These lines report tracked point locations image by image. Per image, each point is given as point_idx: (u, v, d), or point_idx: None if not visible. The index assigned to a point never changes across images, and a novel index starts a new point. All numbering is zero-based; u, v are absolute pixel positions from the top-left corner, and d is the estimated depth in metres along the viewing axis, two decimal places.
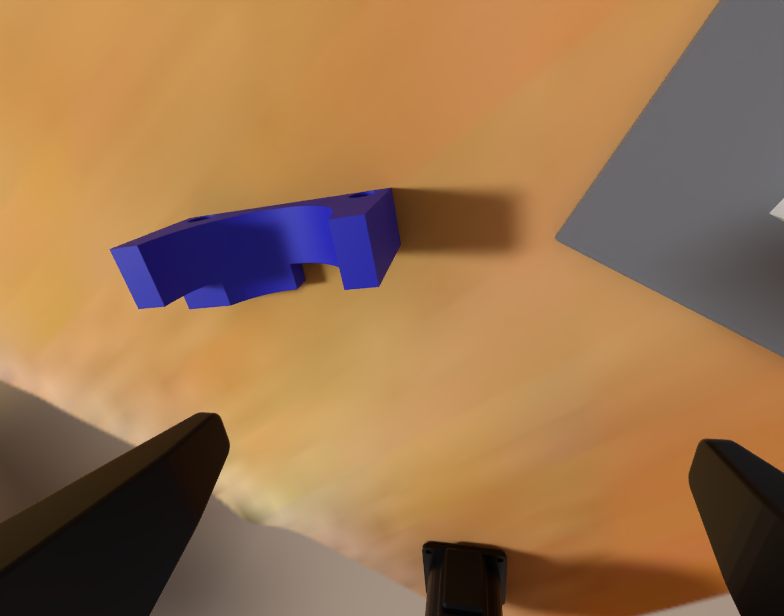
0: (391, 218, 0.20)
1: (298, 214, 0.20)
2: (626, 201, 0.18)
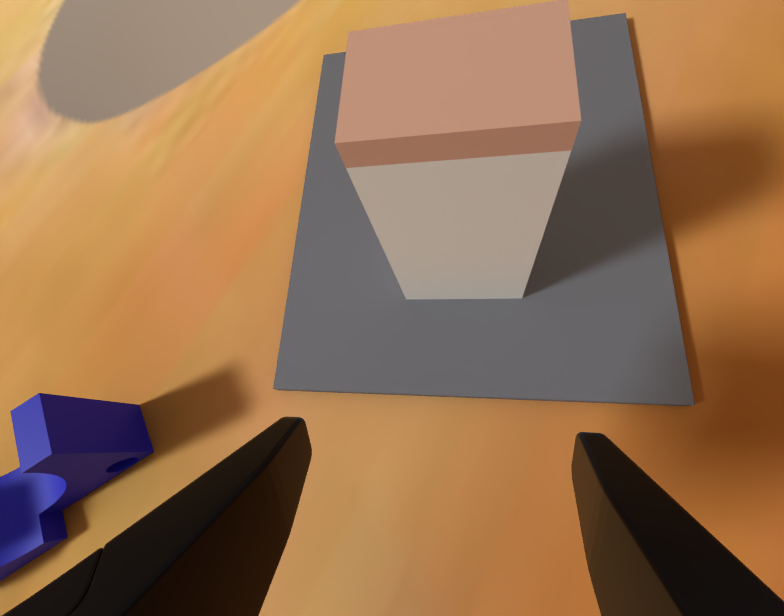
0: (128, 423, 0.22)
1: None
2: (307, 336, 0.22)
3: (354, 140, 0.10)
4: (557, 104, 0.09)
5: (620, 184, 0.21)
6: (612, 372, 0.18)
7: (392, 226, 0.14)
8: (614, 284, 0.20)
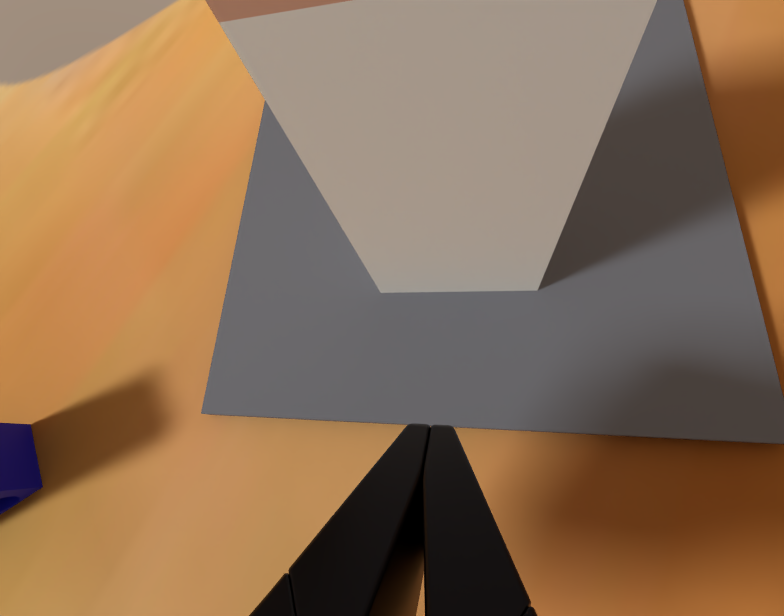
0: (3, 450, 0.16)
1: None
2: (249, 343, 0.16)
3: None
4: None
5: (668, 137, 0.16)
6: (669, 394, 0.13)
7: (338, 167, 0.09)
8: (666, 270, 0.14)
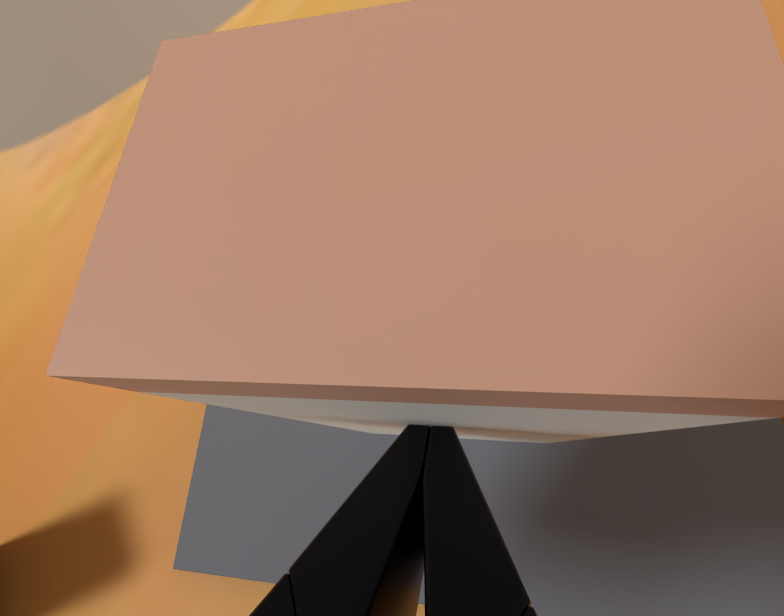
0: None
1: None
2: (228, 484, 0.15)
3: (103, 369, 0.03)
4: (778, 313, 0.03)
5: None
6: (696, 587, 0.11)
7: (312, 417, 0.07)
8: (689, 428, 0.13)
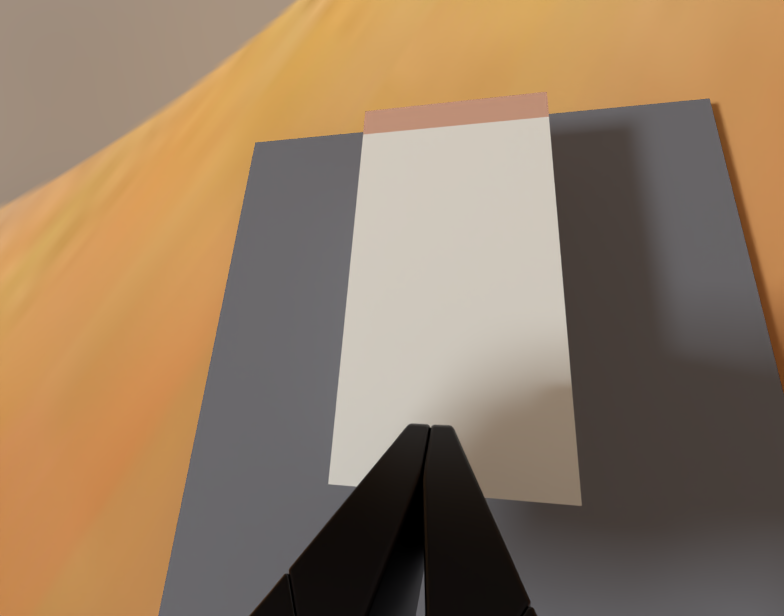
0: None
1: None
2: None
3: (380, 112, 0.14)
4: None
5: (726, 419, 0.12)
6: None
7: (377, 218, 0.12)
8: None
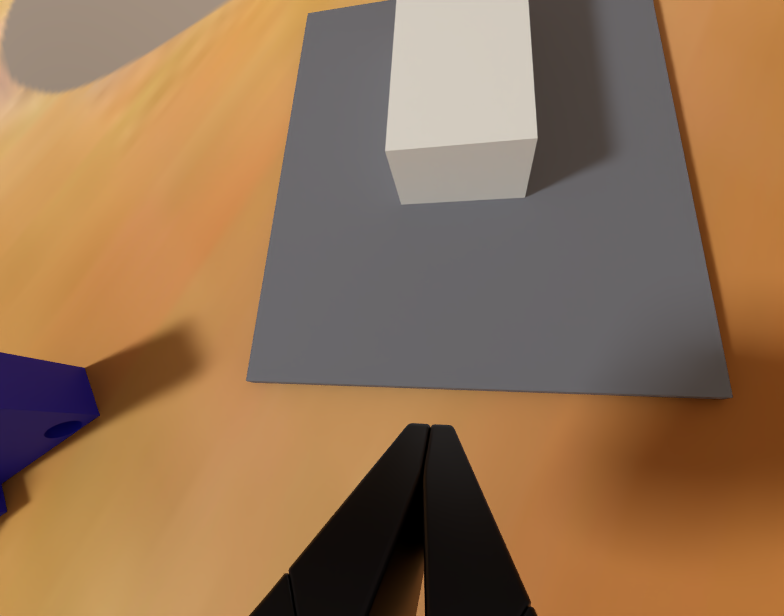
0: (68, 384, 0.20)
1: None
2: (285, 322, 0.19)
3: None
4: None
5: (641, 147, 0.19)
6: (635, 360, 0.16)
7: (410, 14, 0.19)
8: (635, 259, 0.17)
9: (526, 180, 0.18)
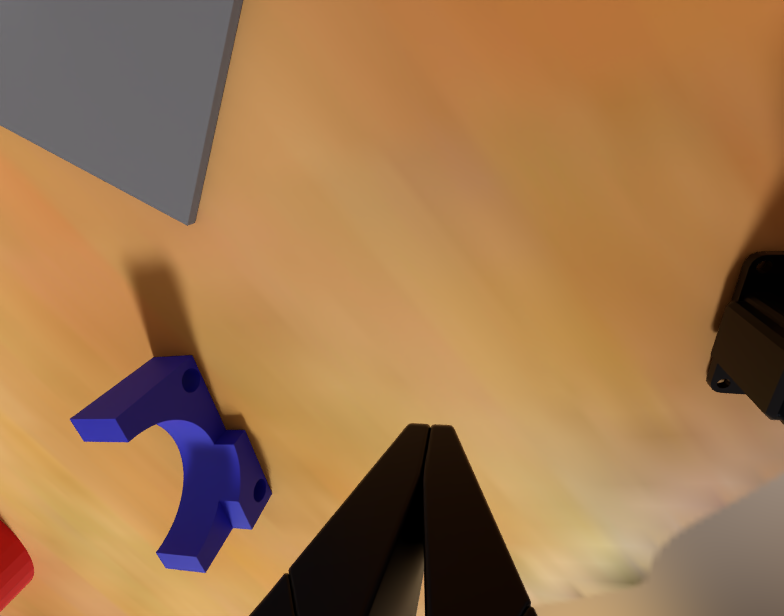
0: (154, 367, 0.24)
1: (170, 430, 0.26)
2: (139, 168, 0.19)
3: None
4: None
5: None
6: None
7: None
8: None
9: None
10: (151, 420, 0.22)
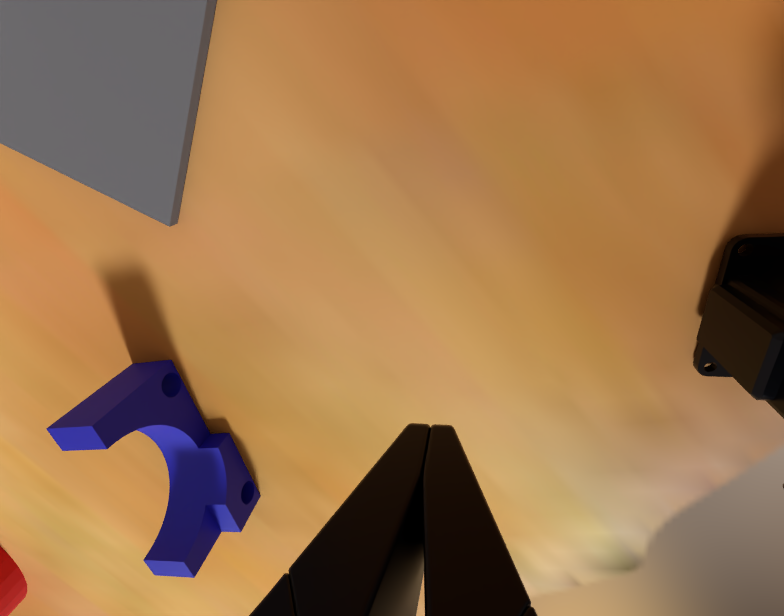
0: (133, 373, 0.24)
1: (153, 436, 0.26)
2: (118, 169, 0.19)
3: None
4: None
5: None
6: None
7: None
8: None
9: None
10: (130, 426, 0.21)
